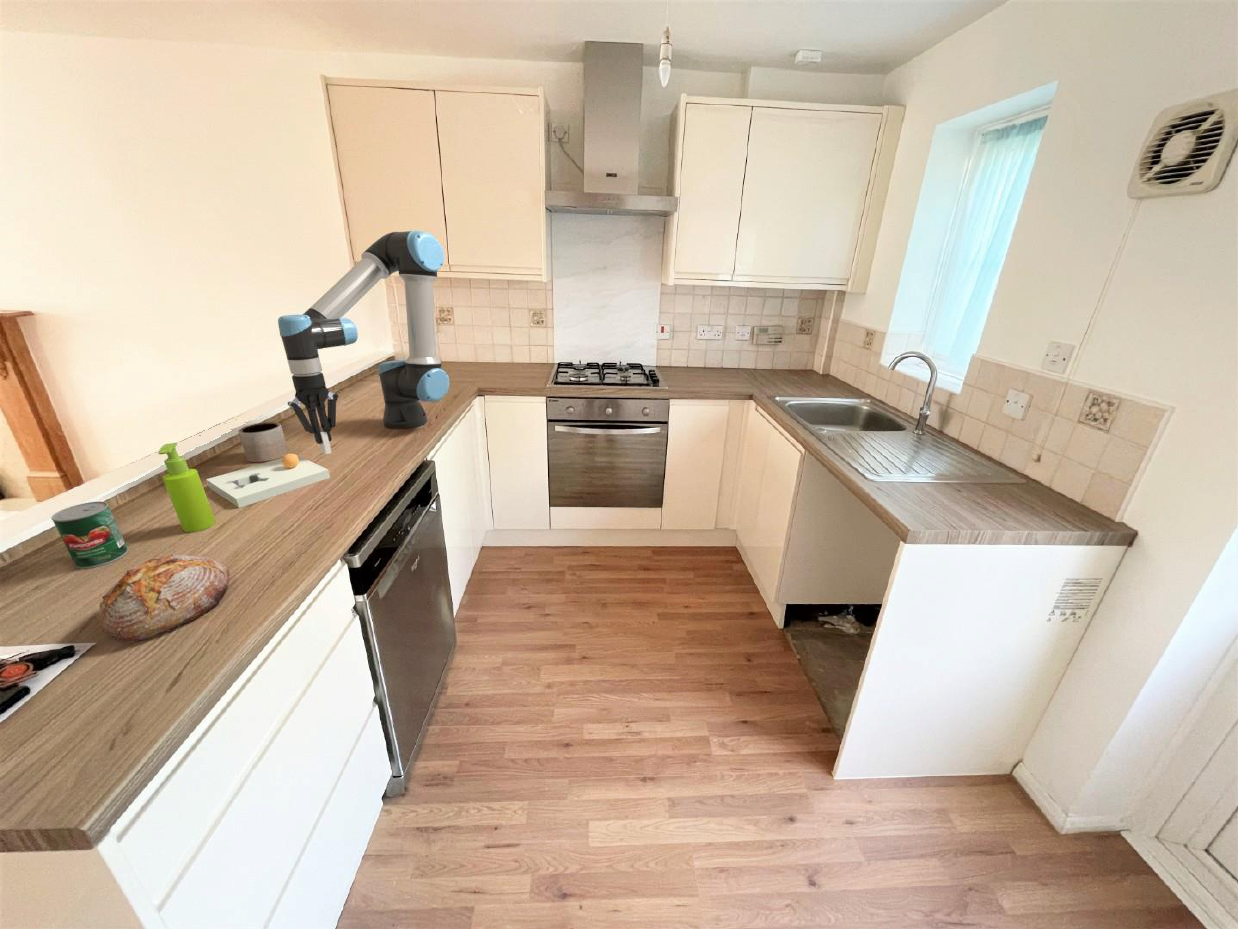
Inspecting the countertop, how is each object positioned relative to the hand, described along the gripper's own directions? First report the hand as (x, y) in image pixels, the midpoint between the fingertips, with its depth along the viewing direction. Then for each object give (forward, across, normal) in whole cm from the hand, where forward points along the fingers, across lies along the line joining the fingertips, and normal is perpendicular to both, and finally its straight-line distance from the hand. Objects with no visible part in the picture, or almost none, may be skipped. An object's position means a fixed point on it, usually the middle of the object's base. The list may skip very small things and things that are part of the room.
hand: (326, 452), depth 145 cm
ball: (-1, +10, 0) cm, 10 cm away
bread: (+4, +48, +43) cm, 65 cm away
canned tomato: (+4, +52, +12) cm, 53 cm away
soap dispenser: (+4, +36, +13) cm, 38 cm away
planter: (+4, +8, -22) cm, 24 cm away
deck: (+4, +16, 0) cm, 16 cm away
